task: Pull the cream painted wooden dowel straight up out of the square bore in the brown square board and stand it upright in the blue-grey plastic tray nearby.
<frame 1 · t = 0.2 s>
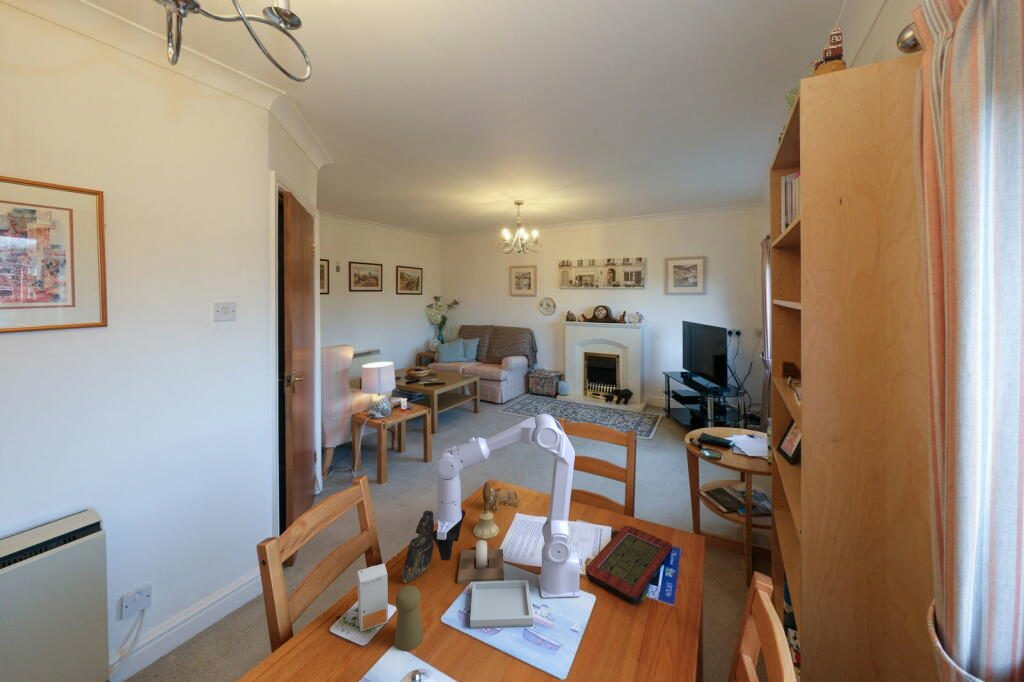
hand: (450, 549, 98), 10 cm above the table, tool pointing down, fingers open, 7 cm apart
dowel: (481, 555, 106), in the brown square board
olive game pawn: (409, 639, 83), on the table
lion figurine: (501, 509, 136), on the table
statue: (418, 571, 105), on the table
hand bell: (486, 532, 123), on the table
grey tray: (501, 606, 92), on the table
brown square board: (481, 567, 106), on the table
skincare box: (373, 622, 88), on the table
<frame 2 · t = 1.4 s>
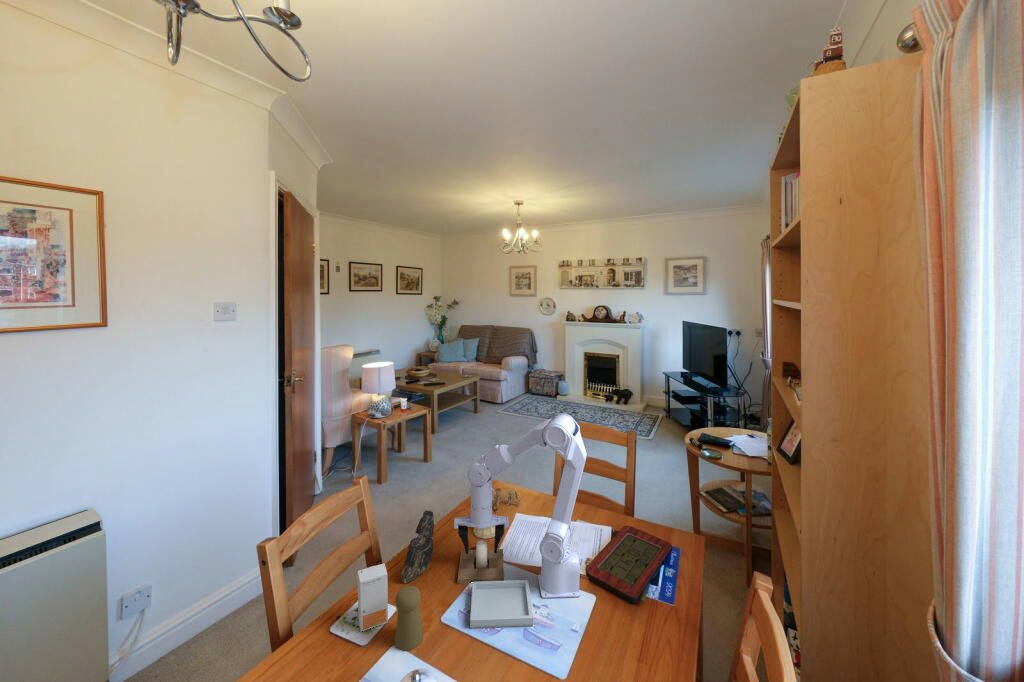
hand: (481, 551, 106), 5 cm above the table, tool pointing down, fingers open, 7 cm apart
nothing on the table moved.
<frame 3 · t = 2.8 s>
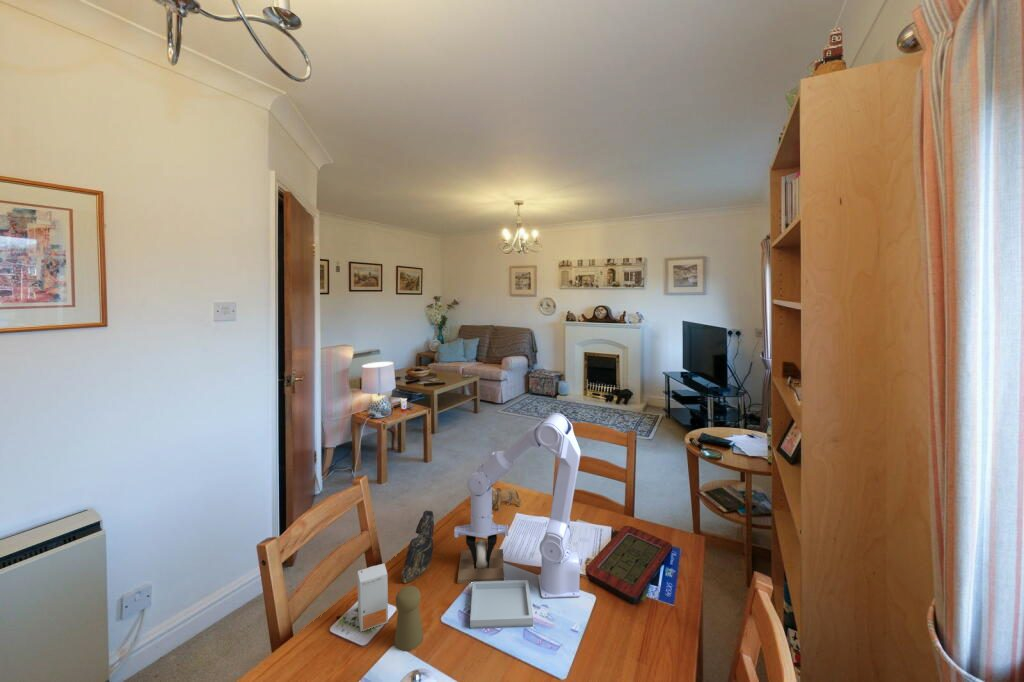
hand: (481, 559, 106), 2 cm above the table, tool pointing down, fingers closed on dowel, 3 cm apart
dowel: (481, 555, 106), in the brown square board, touching gripper
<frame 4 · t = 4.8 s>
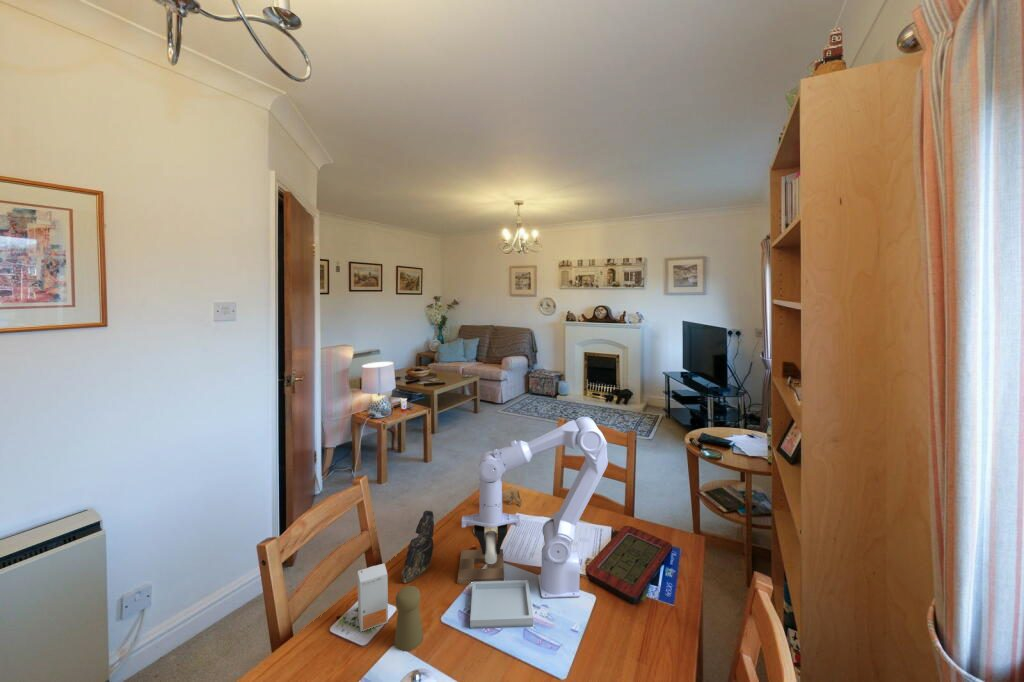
hand: (491, 552, 98), 9 cm above the table, tool pointing down, fingers closed on dowel, 3 cm apart
dowel: (490, 547, 98), point 10 cm above the table, touching gripper
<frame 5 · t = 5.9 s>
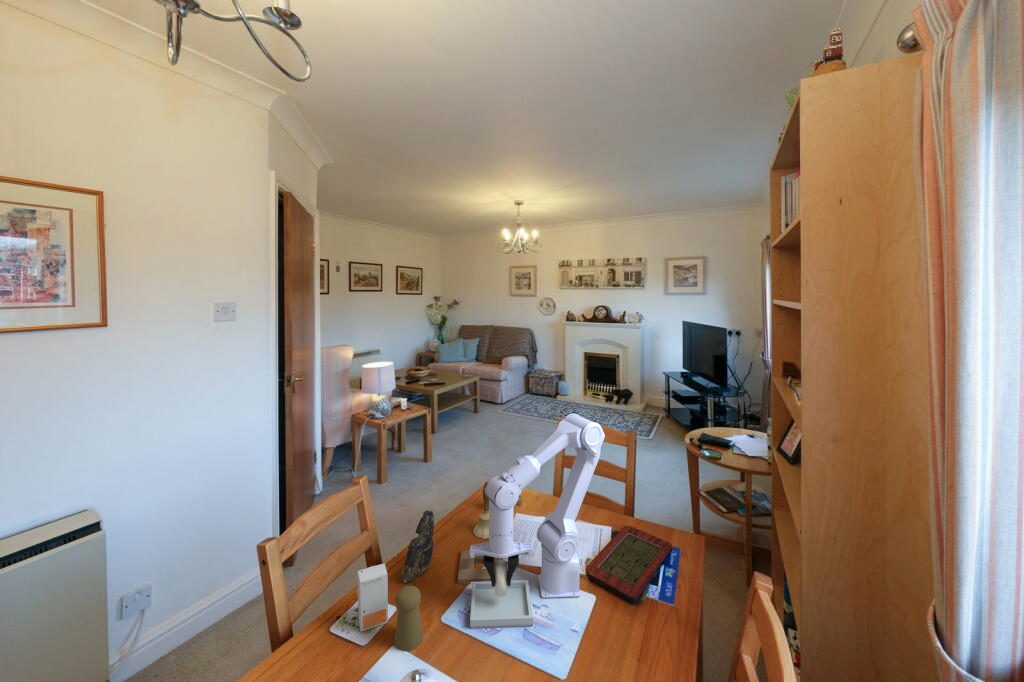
hand: (501, 583, 92), 6 cm above the table, tool pointing down, fingers closed on dowel, 3 cm apart
dowel: (501, 578, 92), point 7 cm above the table, touching gripper
when the fingers open (4 cm above the table, at t = 6.9 s): dowel drops 1 cm, resting on grey tray.
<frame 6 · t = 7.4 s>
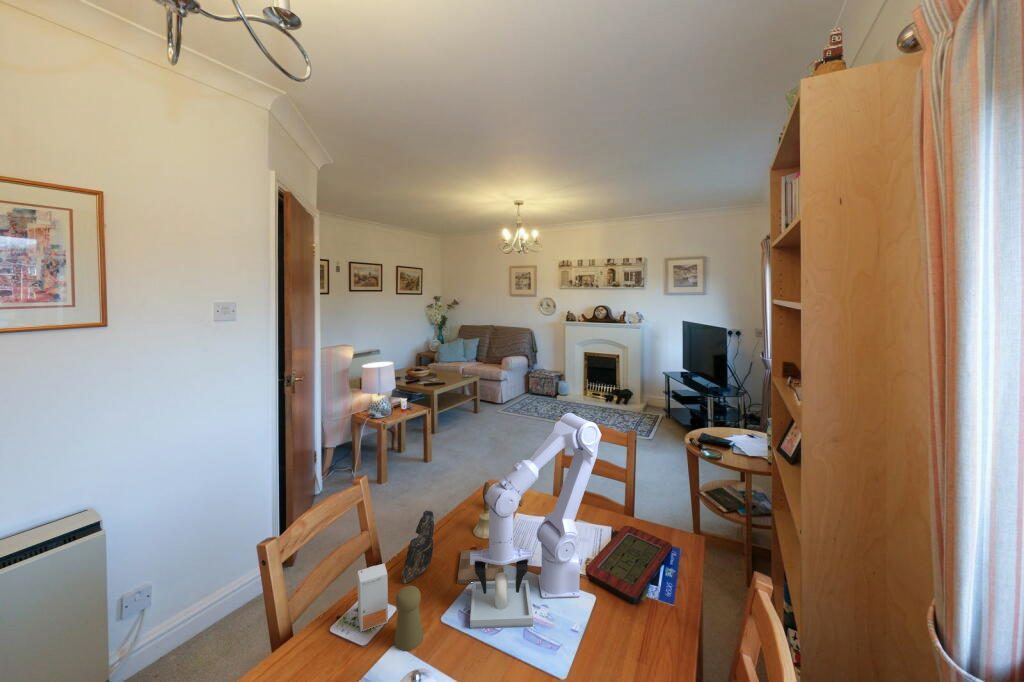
hand: (501, 590, 92), 4 cm above the table, tool pointing down, fingers open, 7 cm apart
dowel: (501, 590, 92), in the grey tray
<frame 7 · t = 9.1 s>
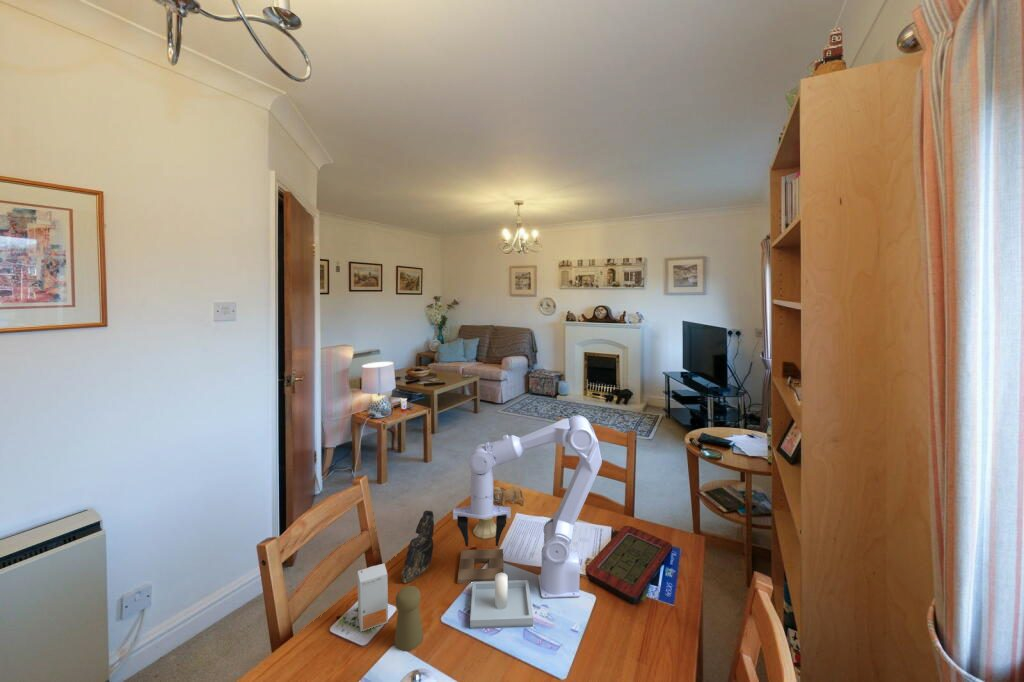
hand: (481, 543, 100), 10 cm above the table, tool pointing down, fingers open, 7 cm apart
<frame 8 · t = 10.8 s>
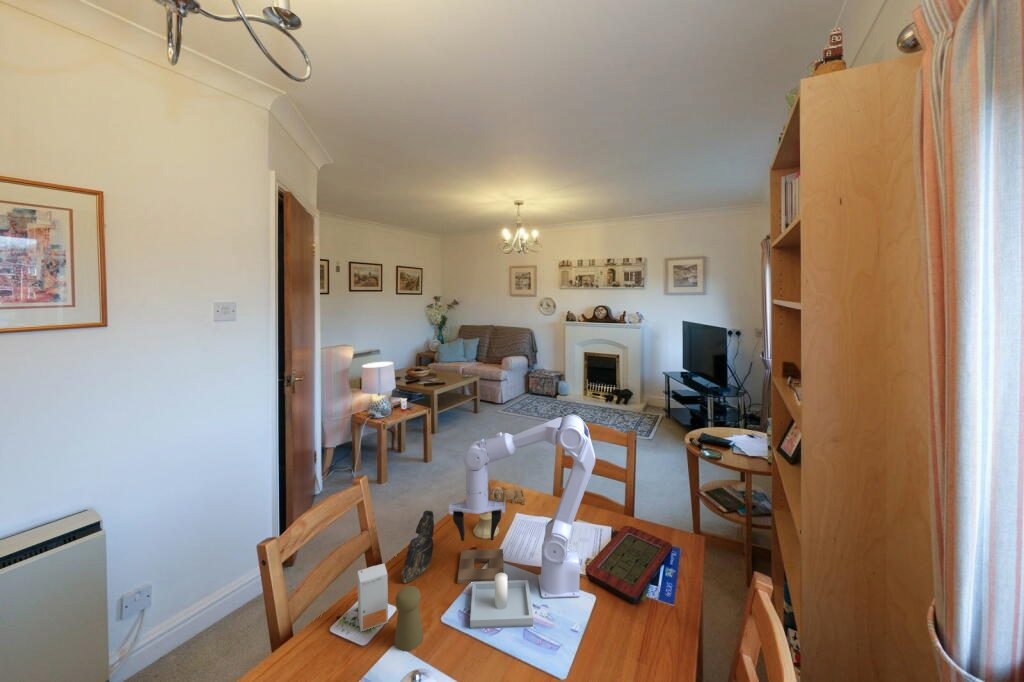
hand: (477, 538, 102), 10 cm above the table, tool pointing down, fingers open, 7 cm apart
at the end: dowel inside the target area on the grey tray (0.0 cm from its centre), point 4.0 cm above the grey tray's base; dowel tilted 1°; the gripper is holding nothing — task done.
